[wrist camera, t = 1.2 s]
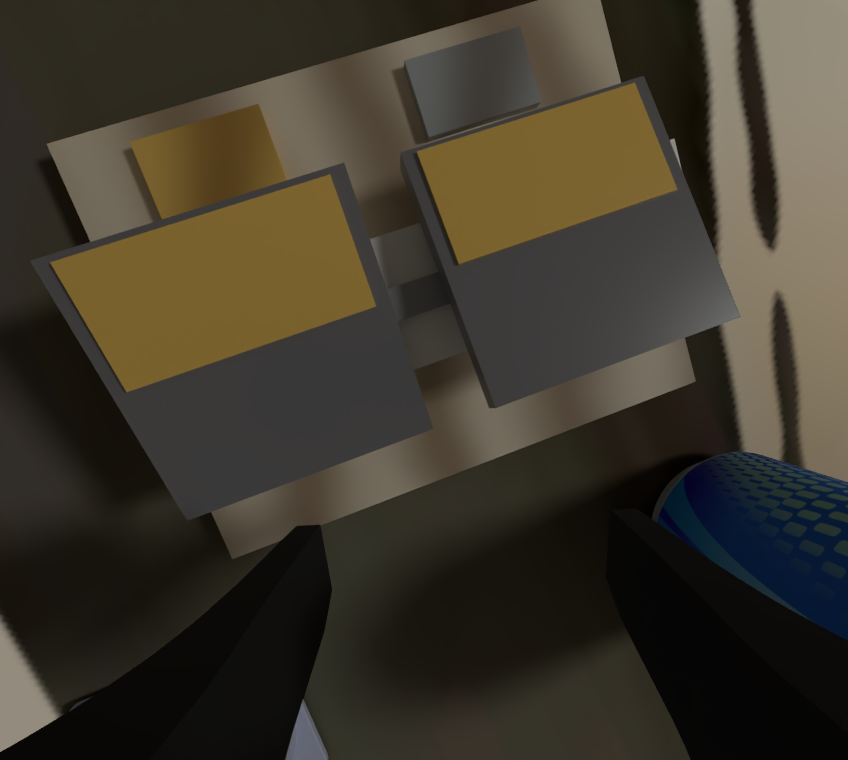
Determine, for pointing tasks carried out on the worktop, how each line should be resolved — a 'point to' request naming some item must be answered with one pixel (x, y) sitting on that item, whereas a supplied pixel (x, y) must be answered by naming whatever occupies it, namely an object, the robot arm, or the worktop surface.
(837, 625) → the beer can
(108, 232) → the base
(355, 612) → the worktop surface
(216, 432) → the switch
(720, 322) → the switch
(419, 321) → the switch housing
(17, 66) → the worktop surface
